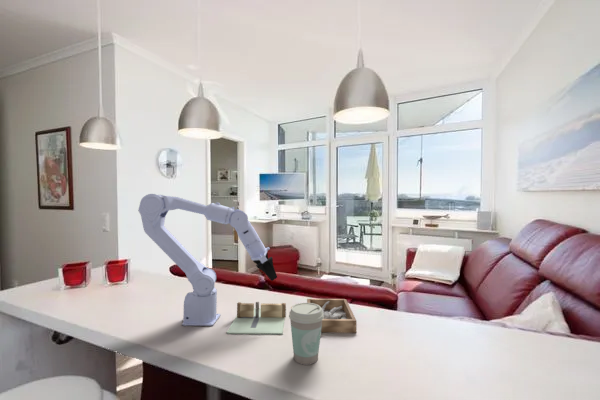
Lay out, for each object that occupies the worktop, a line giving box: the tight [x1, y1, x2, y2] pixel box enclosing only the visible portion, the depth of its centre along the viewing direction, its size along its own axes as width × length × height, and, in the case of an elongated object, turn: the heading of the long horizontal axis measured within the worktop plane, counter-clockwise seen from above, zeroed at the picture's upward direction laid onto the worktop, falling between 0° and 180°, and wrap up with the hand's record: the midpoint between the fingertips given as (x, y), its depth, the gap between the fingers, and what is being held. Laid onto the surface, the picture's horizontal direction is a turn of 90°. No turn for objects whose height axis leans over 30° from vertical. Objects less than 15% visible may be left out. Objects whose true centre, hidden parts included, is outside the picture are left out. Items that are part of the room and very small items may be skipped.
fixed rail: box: [236, 301, 260, 318], centre depth 87 cm, size 7×1×5 cm, turn 90°
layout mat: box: [226, 307, 286, 335], centre depth 86 cm, size 16×18×1 cm
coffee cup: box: [288, 302, 324, 366], centre depth 65 cm, size 8×8×12 cm
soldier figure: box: [322, 301, 346, 319], centre depth 86 cm, size 8×5×12 cm
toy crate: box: [306, 298, 357, 334], centre depth 87 cm, size 14×18×4 cm
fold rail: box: [260, 302, 287, 318], centre depth 87 cm, size 8×1×4 cm, turn 90°
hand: (272, 276), depth 90 cm, fingers open, 7 cm apart
